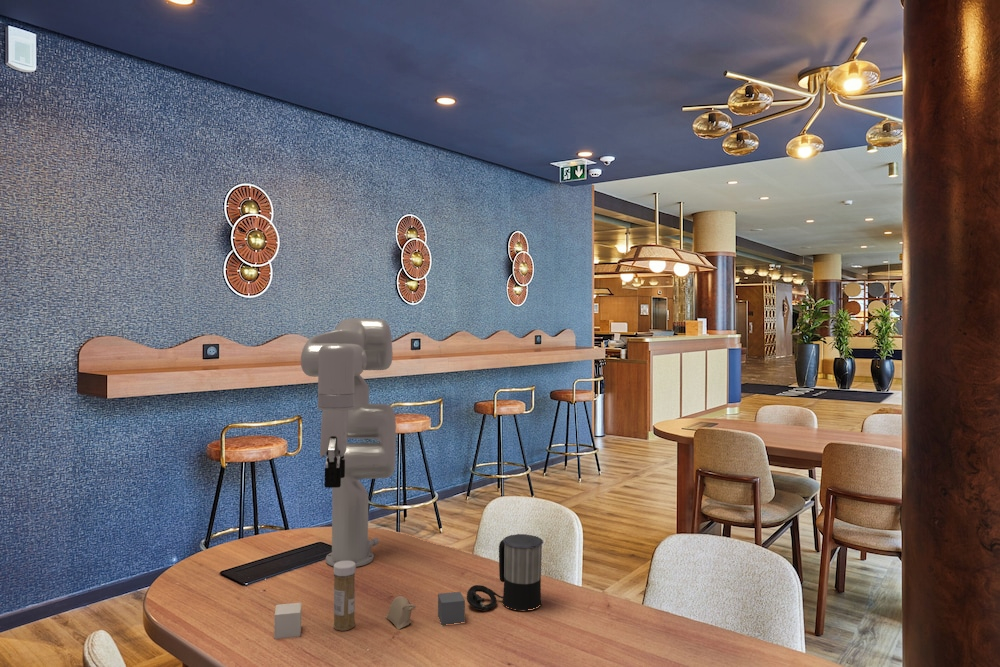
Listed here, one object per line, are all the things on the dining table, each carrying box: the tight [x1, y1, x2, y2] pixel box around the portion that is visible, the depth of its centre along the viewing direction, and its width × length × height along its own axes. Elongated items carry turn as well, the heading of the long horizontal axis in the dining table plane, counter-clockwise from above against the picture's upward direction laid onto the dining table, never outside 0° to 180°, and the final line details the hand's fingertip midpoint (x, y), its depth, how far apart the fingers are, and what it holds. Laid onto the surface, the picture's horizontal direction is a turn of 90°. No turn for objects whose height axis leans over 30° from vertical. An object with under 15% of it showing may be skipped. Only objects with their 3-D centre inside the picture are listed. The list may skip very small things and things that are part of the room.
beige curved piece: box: [385, 595, 417, 630], centre depth 143 cm, size 4×8×5 cm, turn 31°
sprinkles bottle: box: [333, 561, 357, 632], centre depth 141 cm, size 5×5×14 cm
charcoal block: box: [437, 591, 466, 626], centre depth 145 cm, size 5×5×5 cm
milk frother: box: [466, 533, 544, 611], centre depth 153 cm, size 14×16×15 cm
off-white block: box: [273, 602, 302, 640], centre depth 138 cm, size 5×5×5 cm
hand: (335, 482), depth 143 cm, fingers open, 9 cm apart
